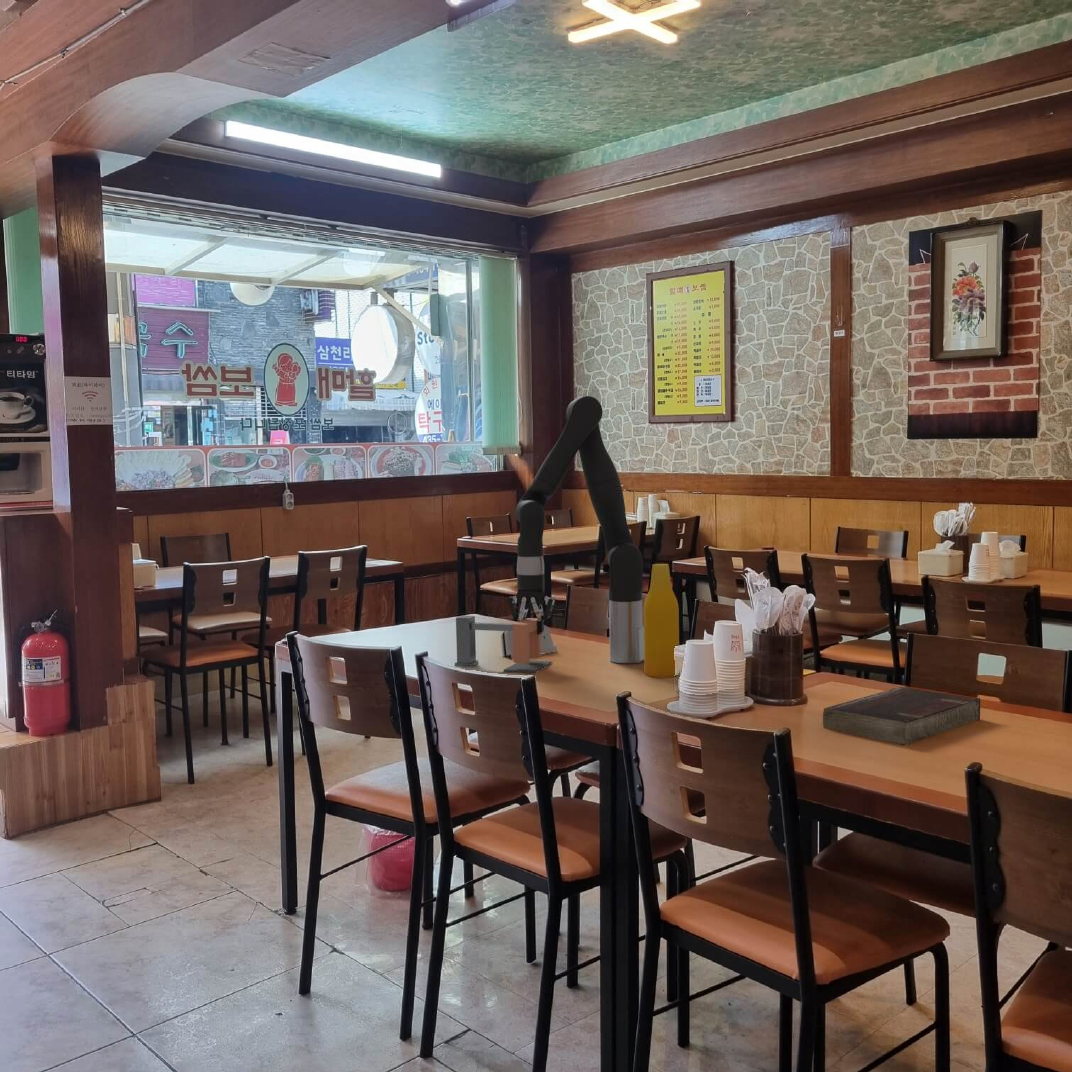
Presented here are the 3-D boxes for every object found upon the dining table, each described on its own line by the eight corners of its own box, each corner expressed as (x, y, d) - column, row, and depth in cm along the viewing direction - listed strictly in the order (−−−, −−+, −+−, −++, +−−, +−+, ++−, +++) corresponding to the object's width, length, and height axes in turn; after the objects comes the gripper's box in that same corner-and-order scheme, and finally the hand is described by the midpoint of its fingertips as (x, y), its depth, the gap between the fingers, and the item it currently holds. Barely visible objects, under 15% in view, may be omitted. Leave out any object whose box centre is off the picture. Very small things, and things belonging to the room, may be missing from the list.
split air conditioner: (511, 659, 299) (504, 625, 301) (503, 662, 303) (496, 628, 305) (558, 651, 309) (551, 619, 311) (549, 655, 313) (542, 622, 315)
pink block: (541, 656, 290) (540, 618, 290) (527, 663, 280) (526, 624, 279) (527, 655, 292) (527, 618, 291) (513, 662, 282) (512, 624, 281)
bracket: (519, 665, 290) (518, 617, 289) (513, 668, 285) (511, 619, 284) (462, 662, 296) (460, 615, 295) (454, 665, 291) (453, 617, 290)
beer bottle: (678, 678, 268) (677, 566, 266) (642, 677, 270) (640, 566, 267) (680, 671, 277) (679, 562, 275) (646, 670, 279) (644, 562, 276)
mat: (552, 663, 291) (552, 661, 291) (534, 673, 278) (534, 671, 278) (522, 662, 294) (522, 660, 294) (503, 671, 281) (503, 669, 281)
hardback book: (899, 706, 235) (899, 684, 235) (980, 721, 221) (980, 698, 220) (822, 729, 217) (823, 706, 216) (904, 747, 202) (905, 722, 202)
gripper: (559, 571, 289) (560, 632, 290) (511, 570, 294) (512, 630, 295) (550, 574, 282) (551, 637, 283) (501, 573, 287) (502, 635, 288)
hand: (531, 633), depth 289 cm, fingers closed on pink block, 4 cm apart
